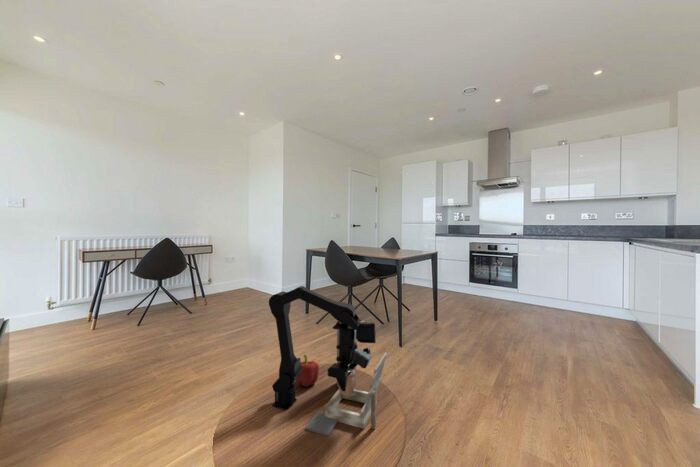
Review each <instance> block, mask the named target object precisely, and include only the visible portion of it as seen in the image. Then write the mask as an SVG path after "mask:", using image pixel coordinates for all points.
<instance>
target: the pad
mask: <svg viewBox="0 0 700 467" xmlns="http://www.w3.org/2000/svg"><path fill="white" fill-rule="evenodd" d="M338 423H339V422H338V420H337V419H333V418H329V417H326V416H324V413H322V412H316V413H315V415H314V416H313V417H312V418H311V419H310V421H309V422H307V424H306V425H305V427H304V429H305V430H306V431H309V432H313V433H317V434H319V435H323V436H327V437H329V436H330V434H331V433H332V432H333V429H335V426H336V425H337V424H338Z"/></svg>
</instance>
